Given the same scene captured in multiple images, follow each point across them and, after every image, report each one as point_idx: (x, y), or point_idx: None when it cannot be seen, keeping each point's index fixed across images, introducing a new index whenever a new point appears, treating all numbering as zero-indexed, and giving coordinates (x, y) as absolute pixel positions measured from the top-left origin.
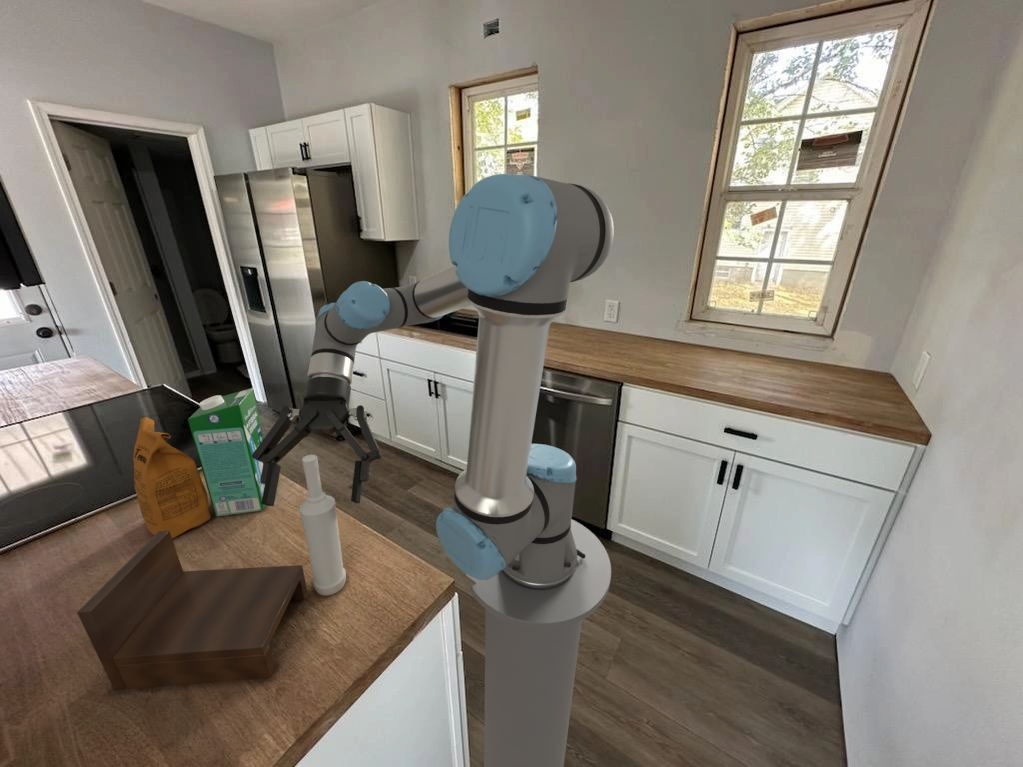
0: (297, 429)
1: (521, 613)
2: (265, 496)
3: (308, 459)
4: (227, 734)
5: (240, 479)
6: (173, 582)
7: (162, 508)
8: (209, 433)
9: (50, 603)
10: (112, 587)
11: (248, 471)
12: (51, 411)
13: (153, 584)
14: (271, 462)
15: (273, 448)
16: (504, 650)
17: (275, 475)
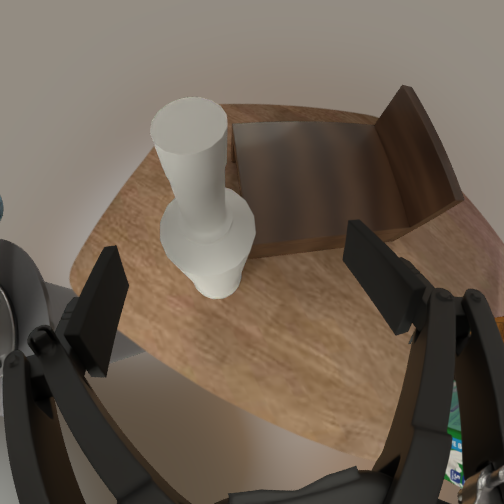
0: (431, 430)
1: (5, 248)
2: (361, 227)
3: (189, 113)
4: (241, 115)
5: (455, 411)
6: (405, 208)
7: (497, 324)
8: None
9: (479, 234)
10: (416, 108)
11: (454, 423)
12: None
13: (410, 171)
14: (423, 303)
15: (454, 329)
16: (61, 291)
17: (385, 288)
